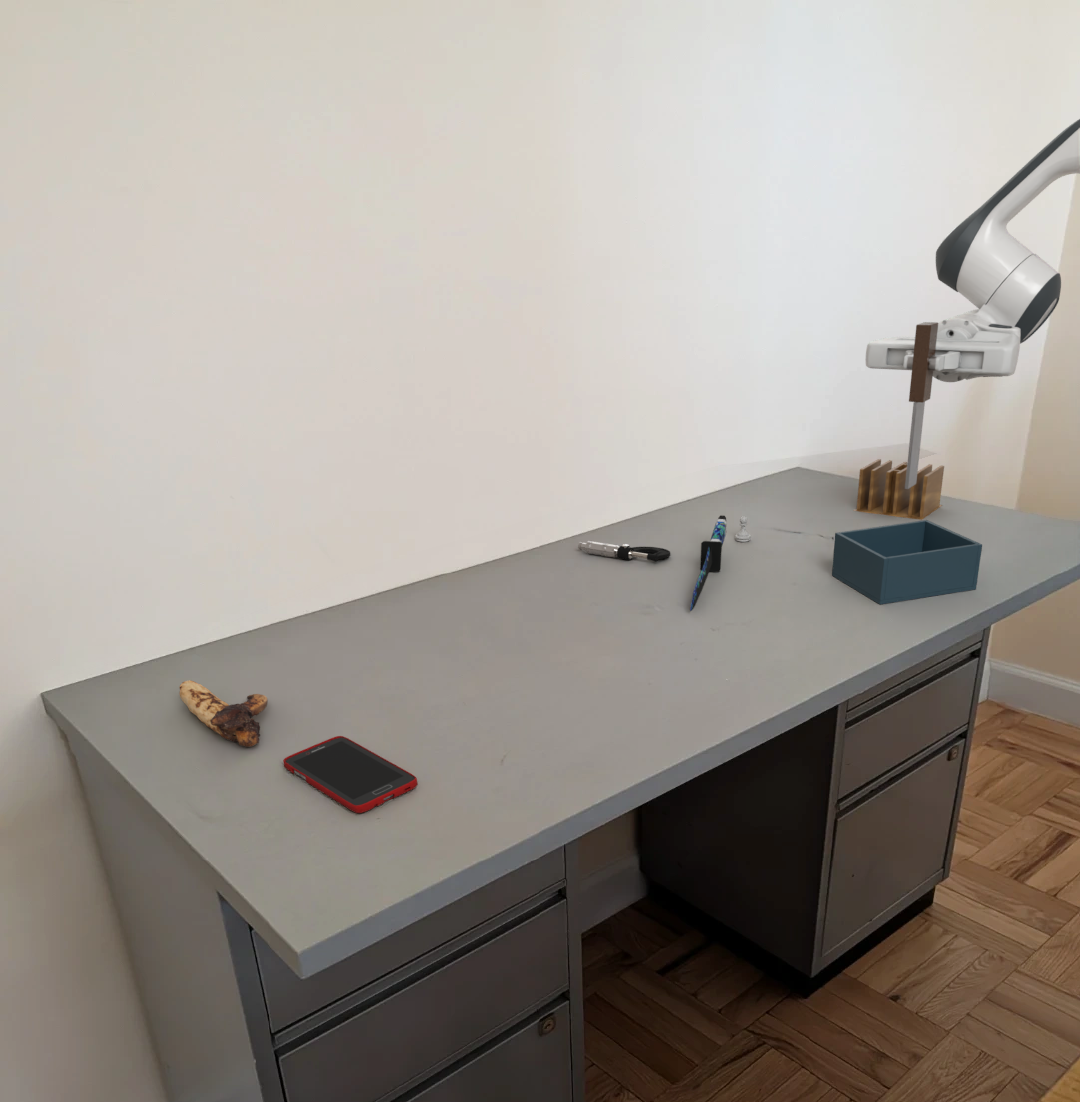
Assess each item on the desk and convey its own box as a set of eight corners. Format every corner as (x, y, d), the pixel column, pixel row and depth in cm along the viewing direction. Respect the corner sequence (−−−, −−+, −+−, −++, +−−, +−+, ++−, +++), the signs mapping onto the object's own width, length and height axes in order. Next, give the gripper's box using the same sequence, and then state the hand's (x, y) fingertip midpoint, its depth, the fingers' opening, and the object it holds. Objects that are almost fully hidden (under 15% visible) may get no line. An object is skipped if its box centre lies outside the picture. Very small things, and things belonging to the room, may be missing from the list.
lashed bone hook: (305, 736, 118) (237, 686, 131) (300, 699, 116) (232, 651, 129) (228, 762, 113) (165, 707, 126) (221, 724, 111) (158, 671, 123)
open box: (922, 562, 158) (926, 519, 155) (976, 589, 147) (982, 544, 144) (831, 575, 155) (834, 532, 152) (879, 604, 144) (884, 558, 141)
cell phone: (358, 817, 101) (357, 808, 101) (280, 767, 111) (279, 759, 110) (421, 786, 106) (420, 778, 105) (341, 741, 115) (340, 733, 115)
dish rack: (852, 517, 181) (856, 470, 177) (874, 503, 187) (879, 457, 184) (921, 526, 174) (926, 477, 170) (941, 511, 181) (947, 464, 177)
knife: (717, 538, 170) (717, 512, 167) (736, 539, 169) (736, 513, 166) (672, 625, 146) (671, 596, 144) (693, 627, 145) (692, 598, 143)
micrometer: (678, 553, 168) (678, 538, 167) (656, 567, 163) (656, 551, 162) (599, 541, 176) (599, 527, 175) (576, 553, 171) (576, 538, 170)
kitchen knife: (899, 488, 148) (915, 324, 138) (907, 483, 151) (924, 321, 141) (913, 489, 147) (930, 325, 137) (921, 484, 149) (939, 322, 139)
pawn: (733, 541, 172) (734, 518, 170) (736, 537, 174) (736, 513, 172) (749, 542, 171) (750, 518, 169) (751, 537, 173) (752, 514, 172)
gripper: (887, 324, 155) (849, 336, 145) (1033, 327, 143) (1001, 341, 133) (883, 368, 157) (846, 383, 148) (1025, 375, 146) (994, 392, 136)
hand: (921, 363), depth 141 cm, fingers closed on kitchen knife, 2 cm apart
